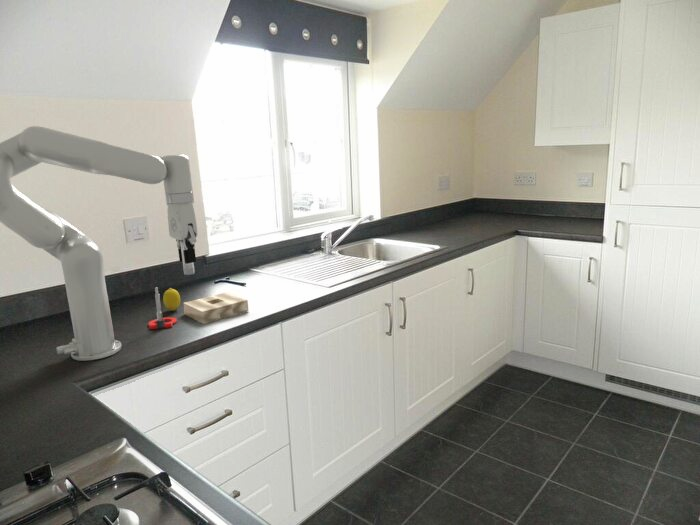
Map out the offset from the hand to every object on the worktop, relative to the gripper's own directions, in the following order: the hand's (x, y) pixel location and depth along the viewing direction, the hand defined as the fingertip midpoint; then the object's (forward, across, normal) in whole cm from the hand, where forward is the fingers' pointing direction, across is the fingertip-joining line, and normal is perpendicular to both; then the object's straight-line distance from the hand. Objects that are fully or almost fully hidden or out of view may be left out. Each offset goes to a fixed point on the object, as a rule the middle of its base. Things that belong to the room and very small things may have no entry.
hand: (187, 261), depth 152 cm
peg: (+4, 0, 0) cm, 4 cm away
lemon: (+21, -24, +2) cm, 33 cm away
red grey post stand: (+22, -13, -5) cm, 26 cm away
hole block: (+21, -10, +12) cm, 27 cm away
